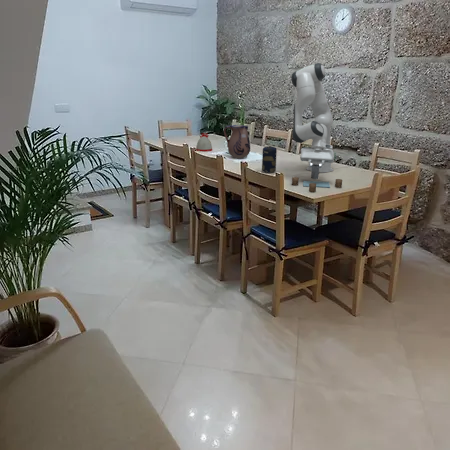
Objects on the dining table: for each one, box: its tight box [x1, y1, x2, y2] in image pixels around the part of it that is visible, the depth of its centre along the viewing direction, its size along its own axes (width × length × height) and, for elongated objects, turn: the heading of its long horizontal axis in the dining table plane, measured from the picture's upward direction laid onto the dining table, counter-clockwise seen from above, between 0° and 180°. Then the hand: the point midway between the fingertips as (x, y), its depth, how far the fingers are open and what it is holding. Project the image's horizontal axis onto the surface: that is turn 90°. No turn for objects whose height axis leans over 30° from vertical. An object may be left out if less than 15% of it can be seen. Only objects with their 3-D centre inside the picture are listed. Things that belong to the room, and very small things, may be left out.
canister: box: [261, 145, 278, 174], centre depth 291 cm, size 10×10×18 cm
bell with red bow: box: [195, 132, 213, 153], centre depth 366 cm, size 14×14×15 cm
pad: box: [302, 180, 331, 189], centre depth 263 cm, size 12×16×1 cm
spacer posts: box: [291, 176, 343, 193], centre depth 254 cm, size 17×30×4 cm, turn 81°
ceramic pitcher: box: [223, 124, 251, 160], centre depth 335 cm, size 18×21×25 cm
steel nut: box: [310, 164, 320, 180], centre depth 261 cm, size 5×4×8 cm
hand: (315, 166), depth 259 cm, fingers open, 4 cm apart
